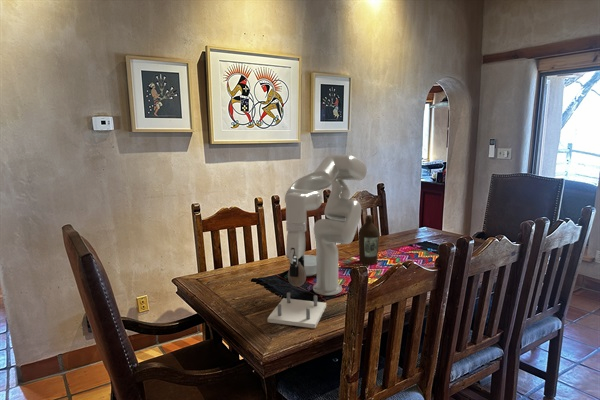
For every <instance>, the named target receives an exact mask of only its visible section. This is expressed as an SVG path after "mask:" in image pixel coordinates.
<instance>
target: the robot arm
mask: <svg viewBox="0 0 600 400" xmlns="http://www.w3.org/2000/svg"><path fill="white" fill-rule="evenodd" d="M367 173H368V171H367V165H366V164H365V162H364V161H363V160H361V159H359V158H358V157H356V156H354V155H351V154H329V155H327V156H326V157H325V158H324V159H323V160H322V161H321V163H320V164H319V165H318V166H317V167H316V169H315V170H314V171H313V172H311V173H308V174H307V175H304V176H302V177H299V178H298V179H296V180H294V182H293V183H292V184H291V185H290V186H289V187H288V189H287V190H286V192H285V194H284V195H285V196H284V203H285V222H286V224H285V225H286V226H285V227H286V232H287V235H286V246H285V247H286V248H285V249H286V252H285V258H286V259H288V261H289V269H290V276H291V277H298V276H299V266H298V261H299V262H300V263H301V265H302V266H303V267H304V260H303V259H304V255H305V253H306V247H307V246H306V245H307V244H306V232H307V230H308V226H307V225H308V224H307V222H308V220H307V219H308V218H307V217H308V215H307V213H308V211H315V210H318V209H319V208H320V207H321V205H322V203H323V197H322V194H321V192H319V191H321V190H325V189H327V188H329V187H330V186H331V190H330V194H329V196H328V199H327V202H326V204H325V207H324V216H325V217H326V218H321V219H318V220H316V221H315V223H314V225H313V234H314V239H315V249H316V252H315V256H316V274H315V275H316V283H315V284H313V286H312V291H313V292H314V293H315V294H317V295H321V296H335V295H338V294H340V293H341V292H342V291H343V287H342V285H341V284H339V248H338V246H337V244H343V245H349V244H351V243H352V242H353V240H354V238H355V235H356V232H357V230H358V226H359V223H360V220H361V217H362V216H361V215H362V204H361V203H360V202H359V201H358V200H355V199H350V195H351V191H350V187H349V186H348V185H347V183H346V181H363V180H364V179H365V178H366V175H367ZM294 256H296V258H294ZM294 260H296V263H295V261H294Z"/></svg>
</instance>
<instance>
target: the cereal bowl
mask: <svg viewBox="0 0 600 400" xmlns="http://www.w3.org/2000/svg"><path fill="white" fill-rule="evenodd" d="M294 258H296V256H294ZM303 260H304V269H305V271H306V277H312V276H314V275H317V274H316V255H314V254H313V255H312V254H304V259H303ZM294 261H296V260H294Z"/></svg>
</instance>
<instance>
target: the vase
mask: <svg viewBox="0 0 600 400" xmlns="http://www.w3.org/2000/svg"><path fill="white" fill-rule="evenodd" d="M295 263H296V261H295ZM298 266H299V276H298V277H291V276H290V268H289V269H288V272H287V280H288V283H289V284H290V285H291V286H293V287H302V286H303V285H304V284H305V282H306V279H307V276H306V271H305V269H304V267H303V266H302V265H301V263H300V262H299V261H298Z"/></svg>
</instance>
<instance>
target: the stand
mask: <svg viewBox="0 0 600 400" xmlns="http://www.w3.org/2000/svg"><path fill="white" fill-rule="evenodd" d="M326 308H327V302H321V301H318V294H317V295H316V294H314V295H313V300H312V301H311V300H303V299H294V298H291V292H289V291H288V292H286V298H285V297H283V298H282V299H281V300H280V302H279V303H277V306H276V307H275V308H274V309H273V310H272V312H271V313H270V314H269V316H267V323H273V324H279V325H287V326H295V327H303V328H309V329H310V328H311V329H316V327H317V326H318V324H319V322H320V320H321V318H322V316H323V314H324V312H325V310H326Z"/></svg>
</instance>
